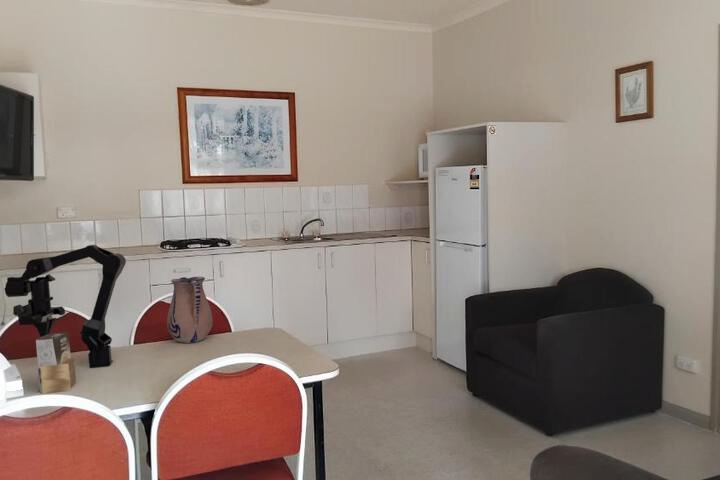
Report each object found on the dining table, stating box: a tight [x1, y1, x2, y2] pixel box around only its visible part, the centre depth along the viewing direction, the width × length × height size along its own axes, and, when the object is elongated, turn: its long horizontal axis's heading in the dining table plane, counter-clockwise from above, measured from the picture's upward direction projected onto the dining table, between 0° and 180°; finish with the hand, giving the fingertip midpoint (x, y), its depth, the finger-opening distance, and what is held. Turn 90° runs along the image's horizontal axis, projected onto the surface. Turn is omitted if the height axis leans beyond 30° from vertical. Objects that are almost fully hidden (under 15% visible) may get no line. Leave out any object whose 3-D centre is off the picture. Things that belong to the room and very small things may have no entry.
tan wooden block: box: [40, 357, 77, 394], centre depth 188 cm, size 8×9×8 cm
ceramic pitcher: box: [166, 276, 214, 344], centre depth 244 cm, size 18×21×25 cm
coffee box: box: [35, 332, 71, 393], centre depth 189 cm, size 9×6×16 cm
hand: (44, 340), depth 212 cm, fingers closed
